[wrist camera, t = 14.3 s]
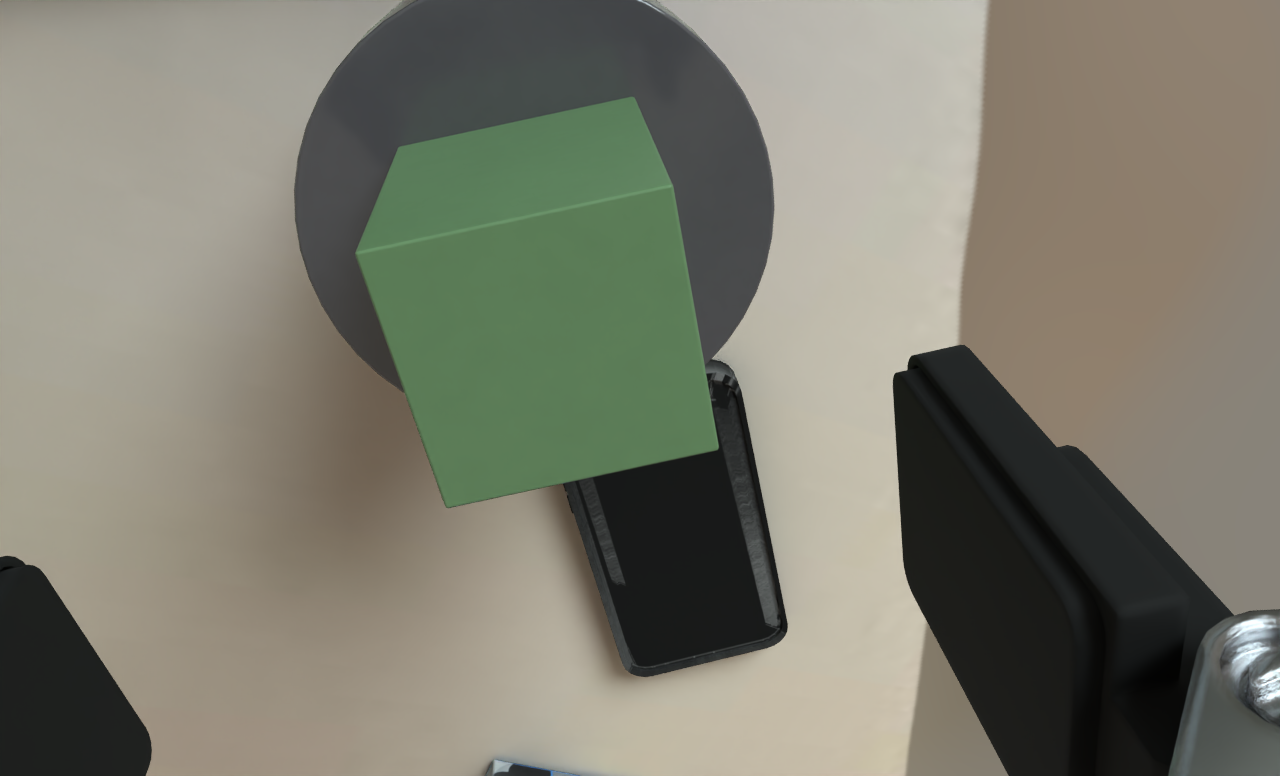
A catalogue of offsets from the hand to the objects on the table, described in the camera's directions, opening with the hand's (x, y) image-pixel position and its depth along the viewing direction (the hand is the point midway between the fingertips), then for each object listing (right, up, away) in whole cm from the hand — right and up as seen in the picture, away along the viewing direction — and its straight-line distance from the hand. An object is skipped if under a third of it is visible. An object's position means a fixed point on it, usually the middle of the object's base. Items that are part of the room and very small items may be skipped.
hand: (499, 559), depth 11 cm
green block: (-1, +5, +11) cm, 12 cm away
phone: (+3, -4, +32) cm, 32 cm away
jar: (-2, +12, +22) cm, 26 cm away
